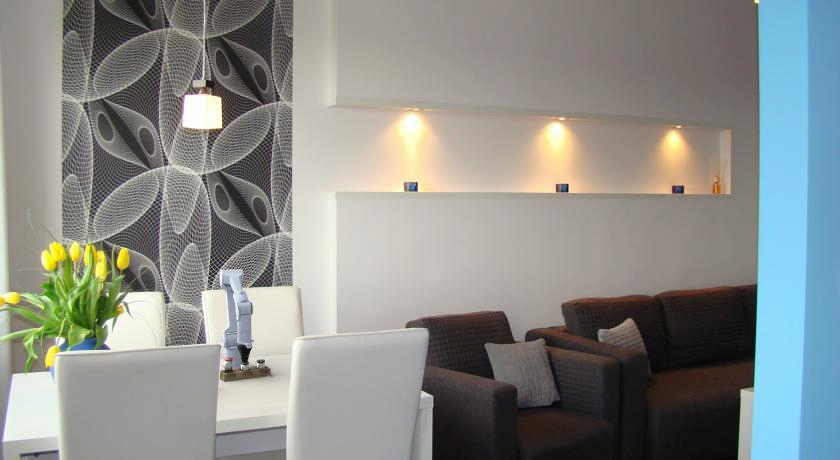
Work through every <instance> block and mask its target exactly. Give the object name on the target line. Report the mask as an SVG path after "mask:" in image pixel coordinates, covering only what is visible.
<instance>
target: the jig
mask: <svg viewBox="0 0 840 460" xmlns="http://www.w3.org/2000/svg"><path fill="white" fill-rule="evenodd" d="M270 376H272V368H270V367H269V366H267V365H265V368H263V369H257V365H255V366H249V370H247V371H241V368H236V369H233V371H232V372H225V369H220V378H219V379H220V380H221V381H223V382H232V381H239V380H247V379H254V378H262V377H270Z"/></svg>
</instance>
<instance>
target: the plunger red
mask: <svg viewBox="0 0 840 460" xmlns="http://www.w3.org/2000/svg"><path fill="white" fill-rule="evenodd" d="M232 360H233V358H231V357H228V358H225V357H223V361H224V365H225V367H224V370H225V372H232V371H233V369H232Z"/></svg>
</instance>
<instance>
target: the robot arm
mask: <svg viewBox="0 0 840 460" xmlns="http://www.w3.org/2000/svg"><path fill="white" fill-rule="evenodd" d="M244 272H245V271H244V270H243V269H242V268H239V269H236V268H235V269H221V270H220V271H219V286H220V289H221V290H224V293H225V305H226V318H227V326H226V327H225V328H224V329H223V330H222V333H221V336H222V337H221V345H222V347H223V348H224V349H225V350H224V355H223V356H224V358H228V357H231V358H233V360H232V369H236V368H241V362H243V363H246V362H249V358H250V354H251V351H252V350H253V343H254V342H255V339H252V315H253V313H254V306H253V302H252V301H251V300H249V297H248V295H247V292H246V291H245V290H243V286H242V285H243V282H244V279H245V273H244ZM222 367H223V368H225V364H222Z"/></svg>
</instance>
